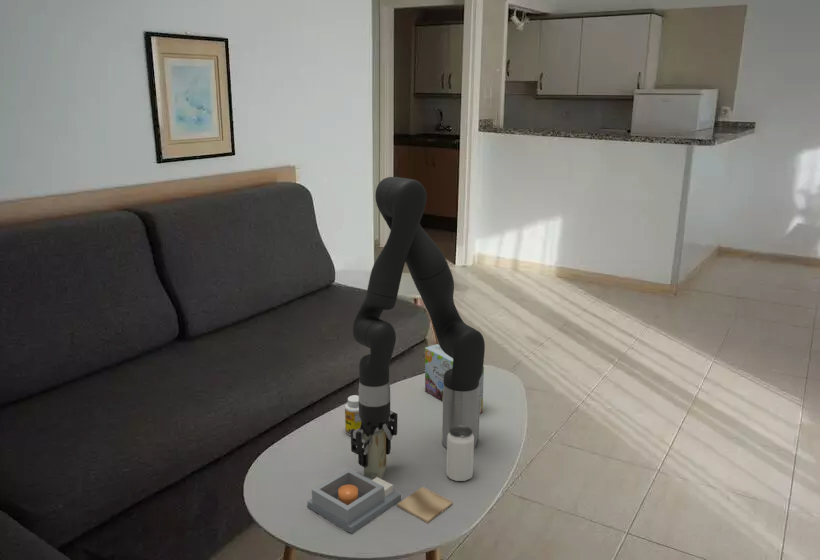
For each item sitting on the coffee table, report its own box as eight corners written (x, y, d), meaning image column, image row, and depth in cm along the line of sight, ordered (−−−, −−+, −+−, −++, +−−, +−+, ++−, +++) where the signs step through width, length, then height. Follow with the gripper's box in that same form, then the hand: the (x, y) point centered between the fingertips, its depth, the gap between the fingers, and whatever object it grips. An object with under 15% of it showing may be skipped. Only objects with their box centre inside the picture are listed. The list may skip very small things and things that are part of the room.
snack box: (423, 392, 207) (423, 347, 203) (437, 387, 210) (437, 342, 206) (469, 418, 191) (471, 369, 187) (483, 412, 194) (485, 365, 190)
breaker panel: (358, 477, 162) (357, 458, 160) (401, 499, 153) (401, 480, 152) (307, 507, 150) (306, 487, 149) (351, 533, 142) (350, 513, 140)
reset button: (348, 492, 153) (348, 482, 152) (362, 500, 150) (362, 489, 149) (334, 501, 150) (334, 490, 149) (348, 509, 147) (347, 498, 146)
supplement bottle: (342, 429, 184) (342, 395, 181) (361, 425, 186) (361, 392, 183) (349, 438, 179) (348, 404, 176) (368, 434, 181) (368, 400, 179)
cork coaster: (422, 489, 157) (422, 486, 157) (453, 504, 152) (453, 502, 151) (397, 506, 151) (397, 504, 151) (427, 523, 145) (427, 520, 145)
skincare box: (380, 481, 160) (380, 436, 157) (363, 479, 161) (362, 434, 158) (387, 467, 166) (386, 423, 163) (370, 465, 167) (369, 421, 164)
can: (455, 485, 159) (456, 440, 155) (441, 471, 164) (442, 428, 161) (477, 478, 162) (479, 434, 158) (463, 465, 167) (465, 422, 164)
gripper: (364, 413, 150) (365, 477, 155) (406, 392, 161) (405, 453, 165) (341, 403, 155) (342, 465, 160) (383, 383, 165) (383, 442, 170)
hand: (374, 459), depth 163 cm, fingers closed on skincare box, 7 cm apart
